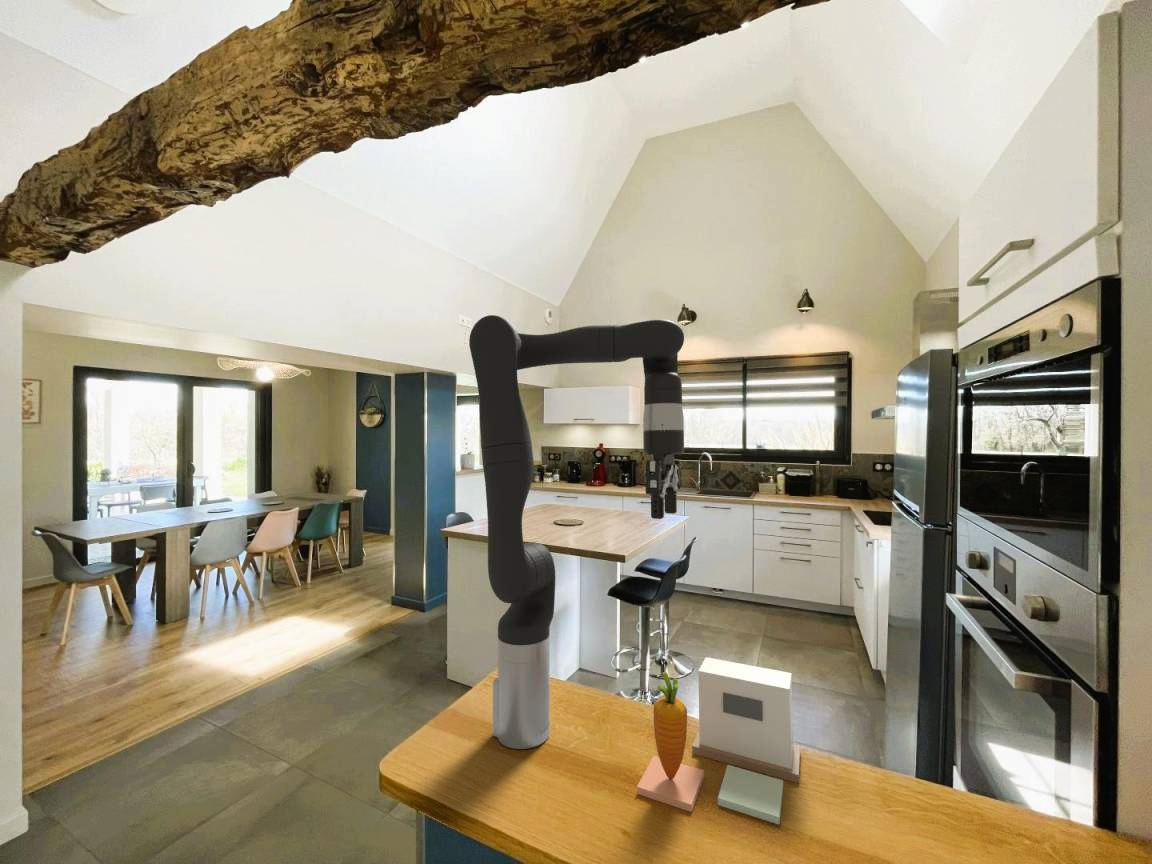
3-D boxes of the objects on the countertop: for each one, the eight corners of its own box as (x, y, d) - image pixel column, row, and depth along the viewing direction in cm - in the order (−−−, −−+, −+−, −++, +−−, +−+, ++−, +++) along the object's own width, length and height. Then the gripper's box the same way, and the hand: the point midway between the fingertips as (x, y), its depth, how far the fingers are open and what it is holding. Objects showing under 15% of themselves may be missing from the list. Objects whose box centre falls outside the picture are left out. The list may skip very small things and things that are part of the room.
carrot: (688, 792, 68) (687, 684, 69) (653, 788, 69) (653, 681, 70) (686, 770, 73) (685, 670, 74) (654, 766, 74) (653, 667, 75)
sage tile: (717, 805, 67) (717, 797, 67) (727, 771, 74) (727, 764, 74) (779, 824, 64) (779, 817, 64) (783, 787, 71) (783, 780, 71)
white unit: (692, 753, 79) (691, 672, 79) (702, 728, 86) (701, 653, 87) (798, 783, 72) (796, 693, 72) (800, 753, 79) (798, 671, 79)
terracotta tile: (637, 793, 70) (636, 786, 70) (653, 762, 77) (653, 755, 77) (691, 812, 66) (691, 804, 66) (704, 777, 73) (704, 770, 73)
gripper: (672, 426, 81) (673, 522, 81) (692, 430, 94) (693, 512, 93) (631, 427, 85) (632, 519, 84) (655, 431, 97) (656, 510, 97)
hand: (664, 515), depth 89 cm, fingers open, 8 cm apart
